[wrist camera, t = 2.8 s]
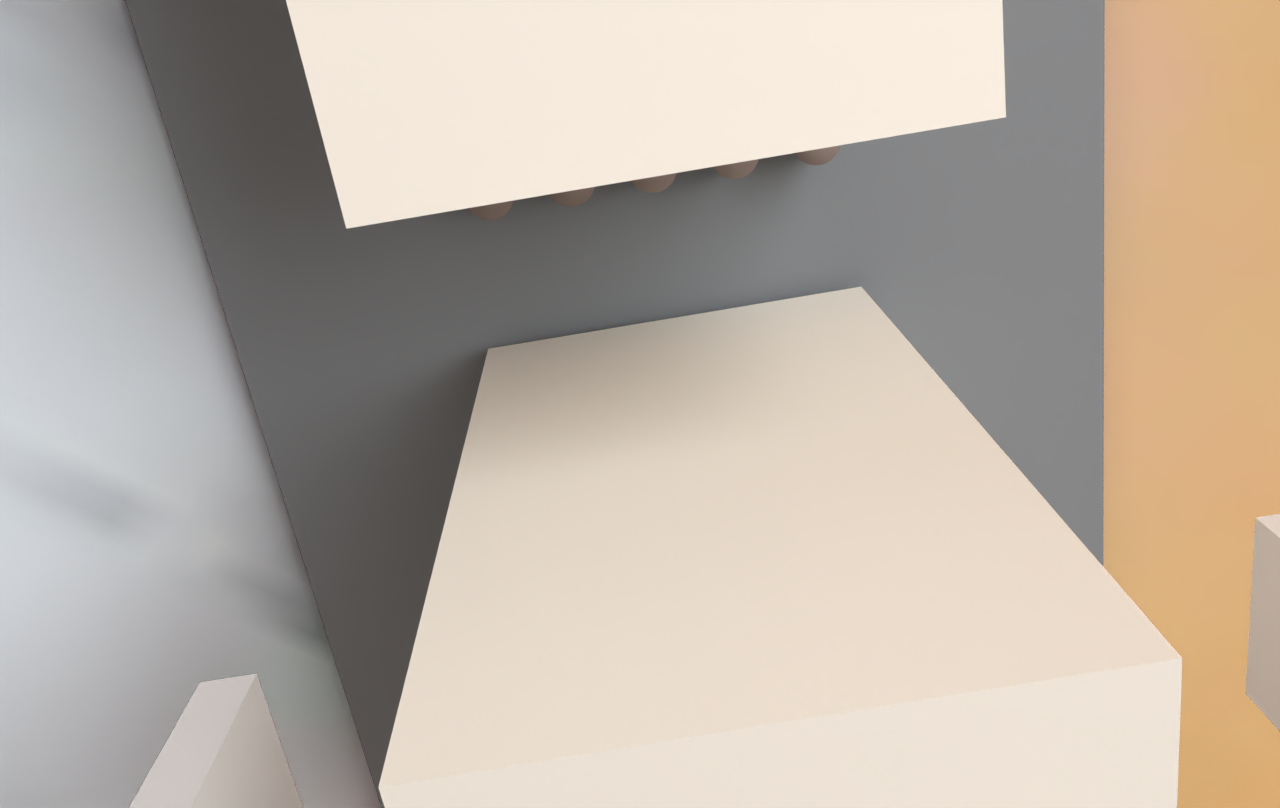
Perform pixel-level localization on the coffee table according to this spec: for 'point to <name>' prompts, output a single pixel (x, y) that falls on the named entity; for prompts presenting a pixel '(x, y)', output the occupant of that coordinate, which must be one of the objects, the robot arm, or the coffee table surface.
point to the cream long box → (622, 90)
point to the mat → (617, 290)
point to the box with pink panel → (765, 590)
